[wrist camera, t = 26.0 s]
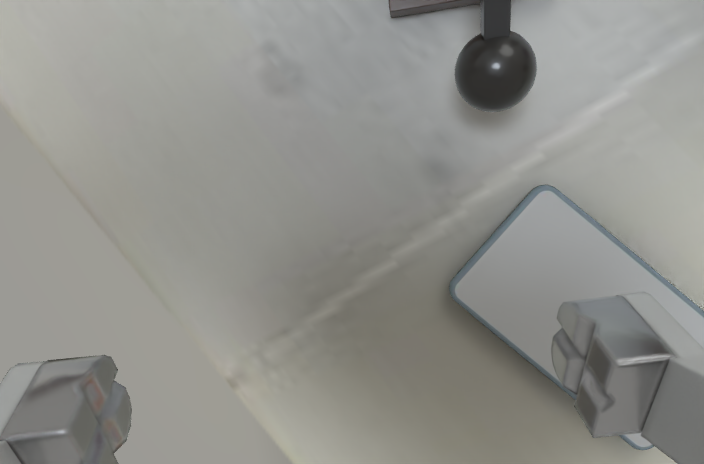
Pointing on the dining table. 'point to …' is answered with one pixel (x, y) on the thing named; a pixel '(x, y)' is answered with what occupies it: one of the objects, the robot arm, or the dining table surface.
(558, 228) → the smartphone
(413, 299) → the dining table surface
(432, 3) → the lever bracket
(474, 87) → the lever
